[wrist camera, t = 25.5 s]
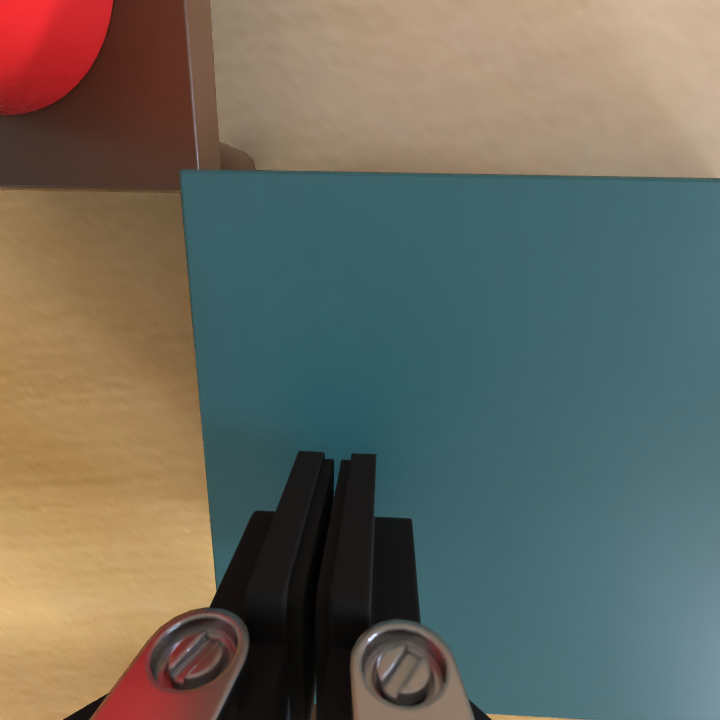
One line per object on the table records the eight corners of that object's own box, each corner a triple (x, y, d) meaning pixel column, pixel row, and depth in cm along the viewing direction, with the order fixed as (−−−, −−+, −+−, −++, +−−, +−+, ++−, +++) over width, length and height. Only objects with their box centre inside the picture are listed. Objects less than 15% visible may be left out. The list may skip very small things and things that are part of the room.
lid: (233, 672, 13) (224, 700, 13) (192, 172, 9) (176, 168, 9) (776, 703, 13) (802, 734, 12) (981, 186, 9) (1038, 183, 8)
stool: (27, 195, 17) (-157, 184, 11) (-29, -112, 14) (-308, -329, 9) (267, 199, 16) (200, 190, 11) (256, -119, 14) (157, -356, 8)
